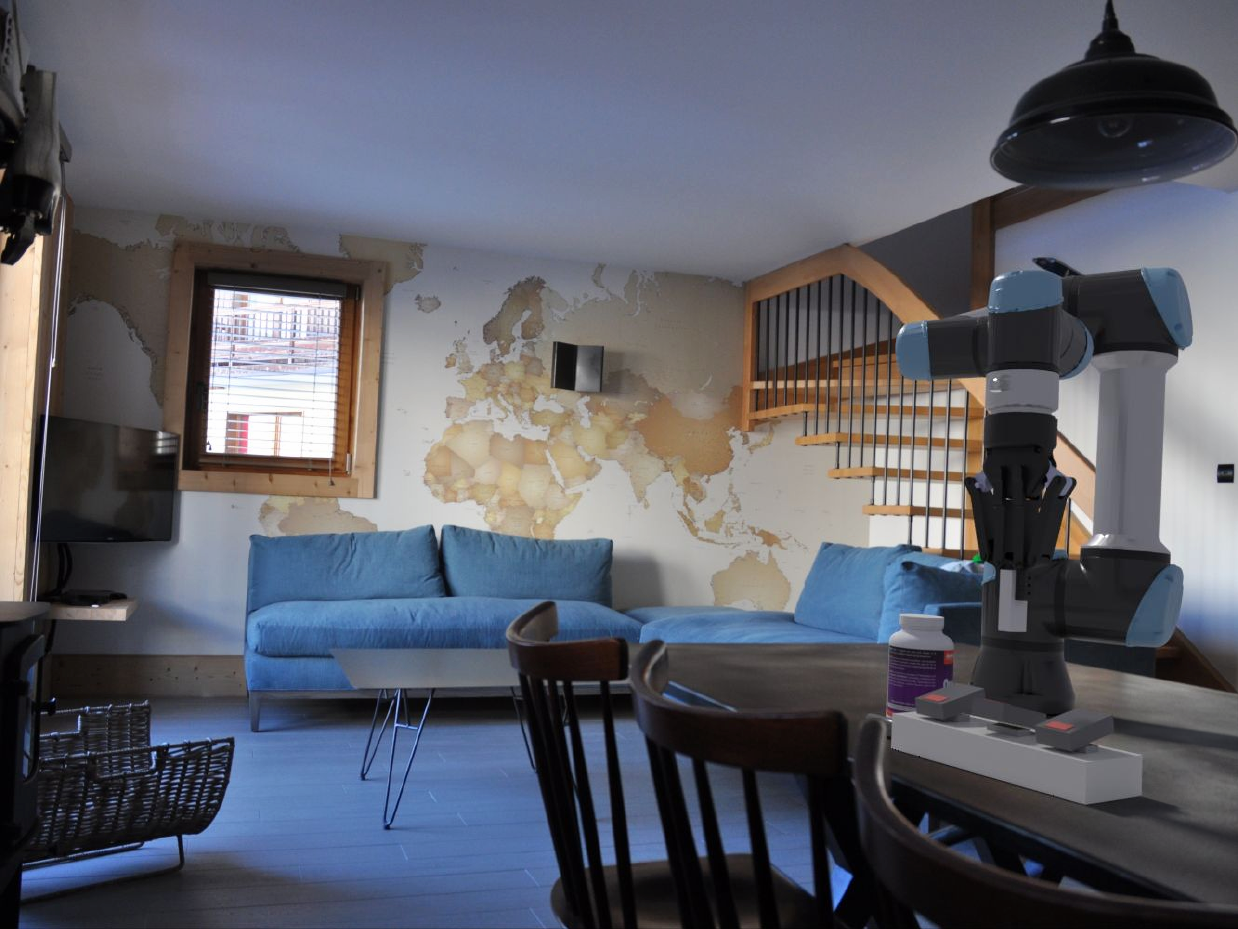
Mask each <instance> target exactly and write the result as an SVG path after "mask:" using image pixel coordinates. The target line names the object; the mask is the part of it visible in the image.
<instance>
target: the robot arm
mask: <svg viewBox="0 0 1238 929" xmlns="http://www.w3.org/2000/svg"><path fill="white" fill-rule="evenodd" d="M1186 286H1187V285H1186V284H1185V281H1184V278H1183V277H1182V275H1181V273H1179V271H1177V270H1176V269H1174V268H1172V267H1156V268H1155V267H1152V268H1150V267H1149V268H1147V267H1141V268H1136V269H1128V270H1118V271H1111V272H1109V271H1108V272H1101V273H1100V272H1099V273H1090V274H1088V273H1087V274H1080V275H1077V274H1076V275H1068V276H1062V277H1060V276H1059V275H1057V274H1056V273H1054V272H1050V271H1046V270H1041V269H1040V270H1037V269H1026V270H1023V269H1022V270H1015V271H1014V270H1013V271H1008V272H1004V273H1001V274H999V275H997V276H996V277H994V279H993V280H992V281H991V284H990V289H989V297H988V305H987V306H985V307H982V308H978V309H974V310H971V311H968V312H964V313H961V314H957V315H955V316H954V315H953V316H950V317H946V318H941V319H932V320H928V319H923V320H922V321H921V320H920V321H913V322H908V323H906V324H903V326H902V327H901V328H900V329H899V331H898V333H897V335H896V340H895V341H896V342H895V360H896V364H897V368H898V370H899V372H900V375H902V376H903V377H904V378H905V379H907V380H909V381H926V382H932V381H945V380H957V379H958V380H961V379H978V378H985V396H984V397H985V398H984V399H985V401H984V408H985V410H987V411H988V412H990V413H988V414H986V416H985V417H984V418H983V436H982V437H983V438H982V440H983V442H982V444H983V447H984V448H985V451H986V455H985V459H984V460H983V462H982V470H980V471H979V472H978V473H977V474H975V475H974V476H966V477H965V478H964V479H963V484H964V487H965V489H966V491H967V493H968V495H969V497H970V502H971V510H972V514H973V515H972V516H973V523H974V527H975V534H976V536H975V537H976V541H977V547H978V555H979V559H980V561H981V562H984V564H983V575H982V576H983V577H982V581H981V582H980V583H981V584H980V585H981V617H980V618H981V623H980V624H981V625H980V627H981V628H980V629H981V630H980V632H981V633H980V649H979V654H978V656H977V659H976V661H975V664H974V666H973V669H972V673H971V676H970V680H969V681H968V683H967V685H970V686H975V687H979V688H984V691H985V699H988V700H993V701H997V702H1002V703H1006V704H1010V705H1012V706H1016V707H1020V708H1024V709H1028V710H1032V711H1036V712H1040V713H1044V714H1046V715H1061V714H1063V713H1066V712H1068V711H1071V710H1073V709H1075V708H1076V701H1077V700H1076V698H1077V697H1076V693H1075V691H1074V688H1073V684H1072V680H1071V676H1070V674H1069V670H1068V668H1067V663H1066V660H1065V656H1064V655H1065V640H1071V641H1073V640H1074V641H1080V642H1081V641H1083V642H1091V643H1092V642H1093V643H1098V644H1099V643H1100V644H1101V643H1102V644H1110V645H1116V646H1117V645H1119V646H1126V648H1128V647H1129V648H1132V647H1144V648H1159V647H1162V646H1164V645H1165V644H1167V643H1168V642H1169V641H1170V639H1171V638H1172V636H1173V634H1174V632H1175V629H1176V627H1177V623H1178V622H1179V617H1180V614H1181V608H1182V602H1183V598H1184V579H1185V578H1184V576H1185V575H1184V570H1183V569H1182V568H1181V566H1178V565H1177V564H1175V563H1171V561H1172V560H1171V559H1172V553H1171V551H1170V550H1169V549H1168V548H1167V547H1166V546H1165V544H1163V543H1162V541H1161V539H1160V528H1161V527H1160V525H1161V506H1162V505H1161V504H1162V503H1161V502H1162V501H1161V500H1162V481H1163V480H1162V475H1163V474H1162V473H1163V472H1162V471H1163V455H1164V454H1163V453H1164V451H1163V450H1164V425H1165V404H1166V403H1165V400H1166V399H1165V398H1166V376H1167V375H1166V374H1167V372H1169V371H1170V370H1171V369H1172V368H1173V367H1174V366H1175V365H1177V364H1178V362H1179V350H1180V349H1181V350H1184V349H1186V348H1188V347H1191V345H1192V344H1193V334H1194V328H1193V327H1194V326H1193V324H1194V323H1193V316H1192V309H1191V304H1190V299H1189V295H1188V290H1187V287H1186ZM1089 364H1090V365H1091V366H1092V367H1093V368H1094V369H1095V370H1096V371H1097V372H1098V374H1099V385H1098V386H1099V387H1098V388H1099V389H1098V407H1097V408H1098V409H1097V410H1098V411H1097V428H1096V429H1097V434H1096V455H1095V456H1096V457H1095V474H1094V475H1095V476H1094V477H1095V478H1094V479H1095V480H1094V498H1093V519H1092V520H1093V522H1092V523H1093V524H1092V535H1091V537H1090V538H1089V539H1088V540H1086V542H1084V543H1083V544H1081V545H1080V553H1079V554H1080V555H1079V559H1075V558H1074V559H1073V558H1069V555H1068V552H1067V550H1066V549H1064V548H1056V546H1057V543H1058V539H1059V536H1060V531H1061V527H1062V522H1063V519H1064V514H1065V511H1066V507H1067V503H1068V499H1069V498H1070V496H1071V495H1072V492H1074V490H1075V488H1076V486H1077V484H1078V482H1077V478H1075V477H1073V476H1067V475H1066V474H1064V473H1063V472H1061V471H1060V469H1057V466H1058V464H1057V461H1056V459H1055V456H1054V451H1055V449H1056V448H1057V443H1058V418H1057V417H1056V416H1055V415H1053V413H1055V412H1057V411H1058V410H1059V404H1060V403H1059V399H1060V397H1059V396H1060V395H1059V394H1060V393H1059V392H1060V381H1064V380H1068V379H1073V378H1074V377H1076V376H1077V375H1080V374H1081V373H1082V372H1083V371H1084V370H1085V369H1086V368H1087V366H1088V365H1089ZM1045 488H1046V489H1045ZM1044 489H1045V491H1044ZM1043 492H1044V494H1043Z"/></svg>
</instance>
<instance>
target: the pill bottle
mask: <svg viewBox="0 0 1238 929" xmlns="http://www.w3.org/2000/svg"><path fill="white" fill-rule="evenodd" d="M898 623H899V626H900V630H899V631H895V632H894V633H893V634H891V635H890V637H889V639H888V663H887V664H888V665H887V666H888V667H887V668H888V669H887V691H886V692H887V693H886V694H887V695H886V714H885V715H886V716H885V717H887V718H891V719H892V713H904V712H916V704H915V698H916V697H919V696H922V695H925V694H927V693H930V692H933V691H935V690H938V689H941V688H944V687H946V686H949V685H952V684H954V681H953V680H954V678H953V677H954V674H953V673H954V651H955V650H954V649H955V648H954V642H953V641H952V639H951V637H949V636H948V635H946V634H944V633H943V629H944V628H945V627H944V626H945V616H941V615H934V614H921V613H900V614H899V620H898Z"/></svg>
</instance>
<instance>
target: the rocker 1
mask: <svg viewBox="0 0 1238 929" xmlns="http://www.w3.org/2000/svg"><path fill="white" fill-rule="evenodd" d="M974 697H975V698H980V699H982V698H983V699H985V691H984V688H979V687H975V686H970V685H968V684H966V683H965V684H963V683H960V682H959V683H958V682H955V683H953V684H952V685H949V686H946V687H944V688H941V689H938V690H935V691H933V692H930V693H927V694H925V695H922V696H919V697H916V698H915V704H916V713H917V714H921V715H925V716H929V717H933V718H937V719H941V720H946V719H948V718H951V717H953V716H956V715H958V714H961V713H964V714H965V713H966V712H969V711H972V705H973V699H974Z"/></svg>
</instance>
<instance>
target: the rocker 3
mask: <svg viewBox="0 0 1238 929" xmlns="http://www.w3.org/2000/svg"><path fill="white" fill-rule="evenodd" d="M1034 730H1035V734H1036V743H1039V744H1043V745H1047V746H1051V747H1055V748H1060V749H1064V750H1068V751H1073V750H1076V749H1078V748H1080V747H1082V746H1085V745H1087V744H1089V743H1094V742H1096V741H1098V740H1100V739H1102V738H1104V737H1107V736H1109V735H1111V734H1114V733H1115V723H1114V715H1113V713H1112V714H1111V713H1107V712H1103V711H1102V712H1101V711H1097V710H1092V709H1087V708H1082V707H1075V709H1073V710H1071V711H1068V712H1066V713H1063V714H1058V715H1056V716H1054V717H1052V718H1050V719H1046V720H1045V721H1044V722H1042V723H1039V724H1037V725H1035V729H1034Z"/></svg>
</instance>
